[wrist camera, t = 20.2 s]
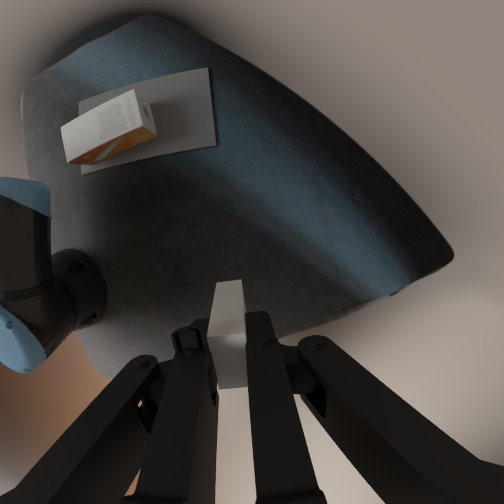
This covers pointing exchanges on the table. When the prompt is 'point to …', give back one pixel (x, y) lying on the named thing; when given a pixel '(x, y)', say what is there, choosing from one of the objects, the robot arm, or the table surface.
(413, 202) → the table surface
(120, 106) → the small box
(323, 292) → the table surface
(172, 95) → the mat
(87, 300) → the robot arm
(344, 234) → the table surface
